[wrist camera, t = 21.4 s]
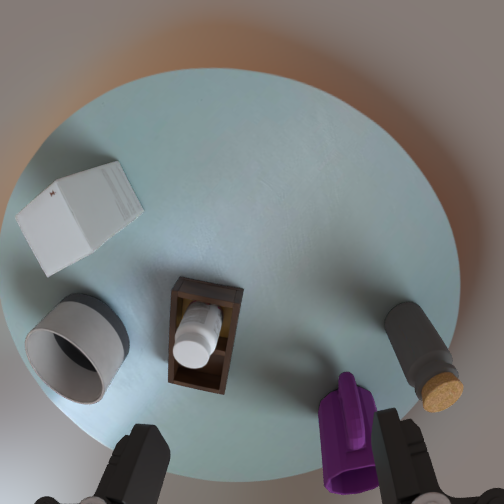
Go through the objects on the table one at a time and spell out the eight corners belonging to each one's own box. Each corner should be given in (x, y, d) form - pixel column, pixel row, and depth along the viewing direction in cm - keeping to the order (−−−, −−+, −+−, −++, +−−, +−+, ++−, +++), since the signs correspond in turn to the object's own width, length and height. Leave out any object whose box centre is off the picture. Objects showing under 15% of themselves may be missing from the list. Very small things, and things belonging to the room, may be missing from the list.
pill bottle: (180, 314, 41) (161, 354, 33) (200, 289, 39) (183, 329, 32) (210, 334, 42) (196, 377, 34) (231, 312, 40) (221, 354, 32)
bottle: (378, 315, 40) (413, 395, 26) (416, 294, 38) (465, 367, 24) (391, 344, 41) (423, 423, 28) (427, 324, 40) (470, 398, 26)
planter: (49, 297, 43) (10, 333, 34) (108, 281, 41) (69, 322, 31) (86, 362, 48) (58, 403, 38) (147, 355, 45) (122, 404, 36)
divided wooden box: (174, 366, 46) (167, 382, 42) (179, 276, 40) (171, 289, 37) (227, 378, 46) (224, 395, 42) (243, 288, 40) (240, 303, 36)
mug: (320, 425, 48) (326, 499, 35) (308, 360, 43) (316, 446, 29) (373, 414, 47) (390, 487, 33) (372, 347, 42) (400, 429, 28)
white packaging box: (77, 187, 36) (11, 214, 25) (119, 158, 35) (56, 177, 23) (102, 237, 39) (45, 279, 27) (146, 213, 37) (94, 252, 25)
